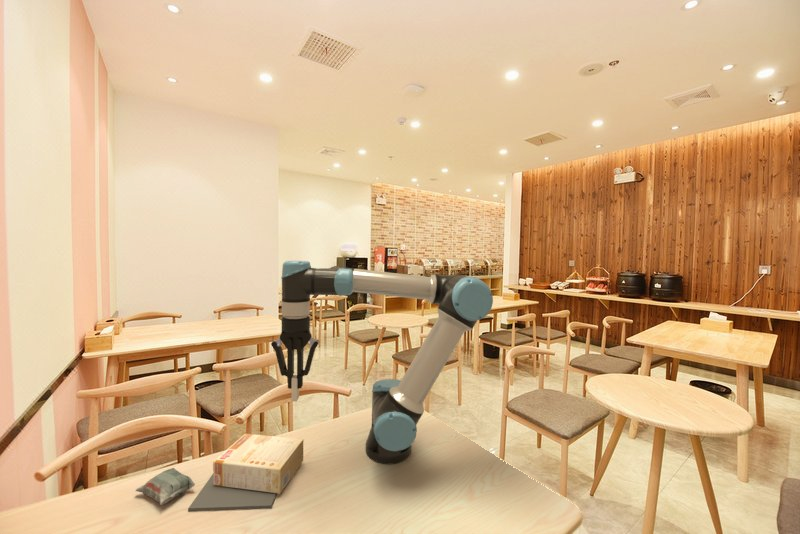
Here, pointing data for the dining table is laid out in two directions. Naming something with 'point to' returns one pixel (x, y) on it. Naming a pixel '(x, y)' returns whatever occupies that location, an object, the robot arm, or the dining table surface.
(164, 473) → the packaged food
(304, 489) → the dining table surface
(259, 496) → the mat
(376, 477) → the dining table surface
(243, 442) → the coffeecake box
